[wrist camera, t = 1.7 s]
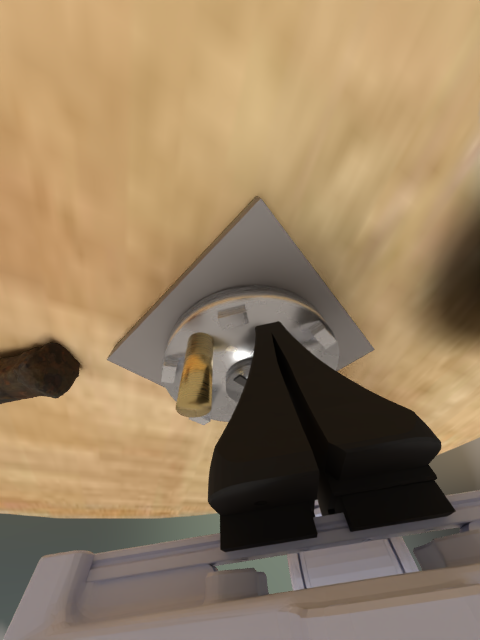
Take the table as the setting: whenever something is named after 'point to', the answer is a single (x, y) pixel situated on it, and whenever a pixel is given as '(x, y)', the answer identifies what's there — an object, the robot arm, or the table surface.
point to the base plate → (234, 271)
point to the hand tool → (37, 373)
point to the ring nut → (233, 346)
